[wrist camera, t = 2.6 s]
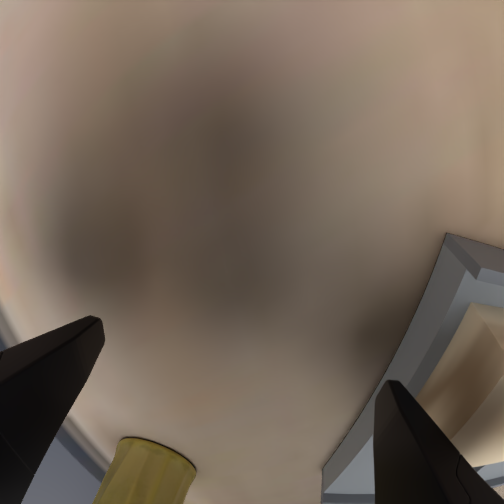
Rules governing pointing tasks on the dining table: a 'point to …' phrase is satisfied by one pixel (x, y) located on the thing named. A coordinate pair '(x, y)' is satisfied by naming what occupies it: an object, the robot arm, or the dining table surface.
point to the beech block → (471, 387)
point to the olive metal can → (145, 475)
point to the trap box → (421, 360)
